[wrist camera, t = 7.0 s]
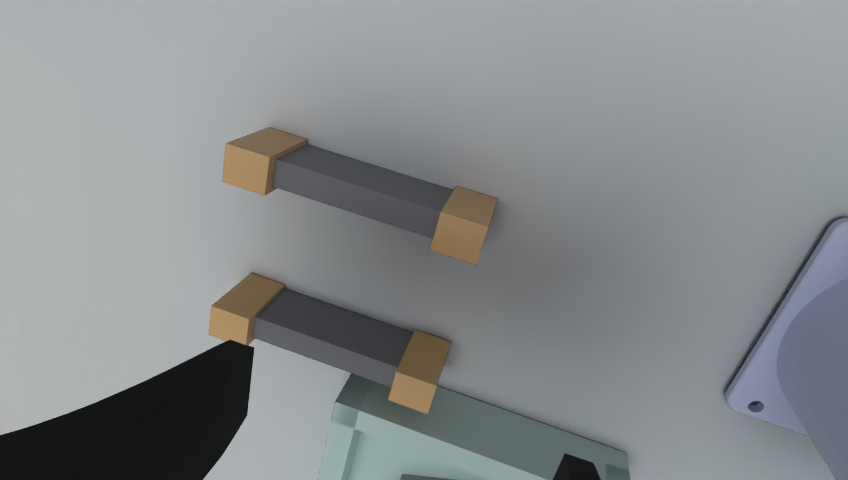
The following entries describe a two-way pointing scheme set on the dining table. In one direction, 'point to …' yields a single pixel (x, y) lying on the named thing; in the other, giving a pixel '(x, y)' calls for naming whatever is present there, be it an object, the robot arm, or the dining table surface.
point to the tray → (448, 440)
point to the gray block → (421, 477)
